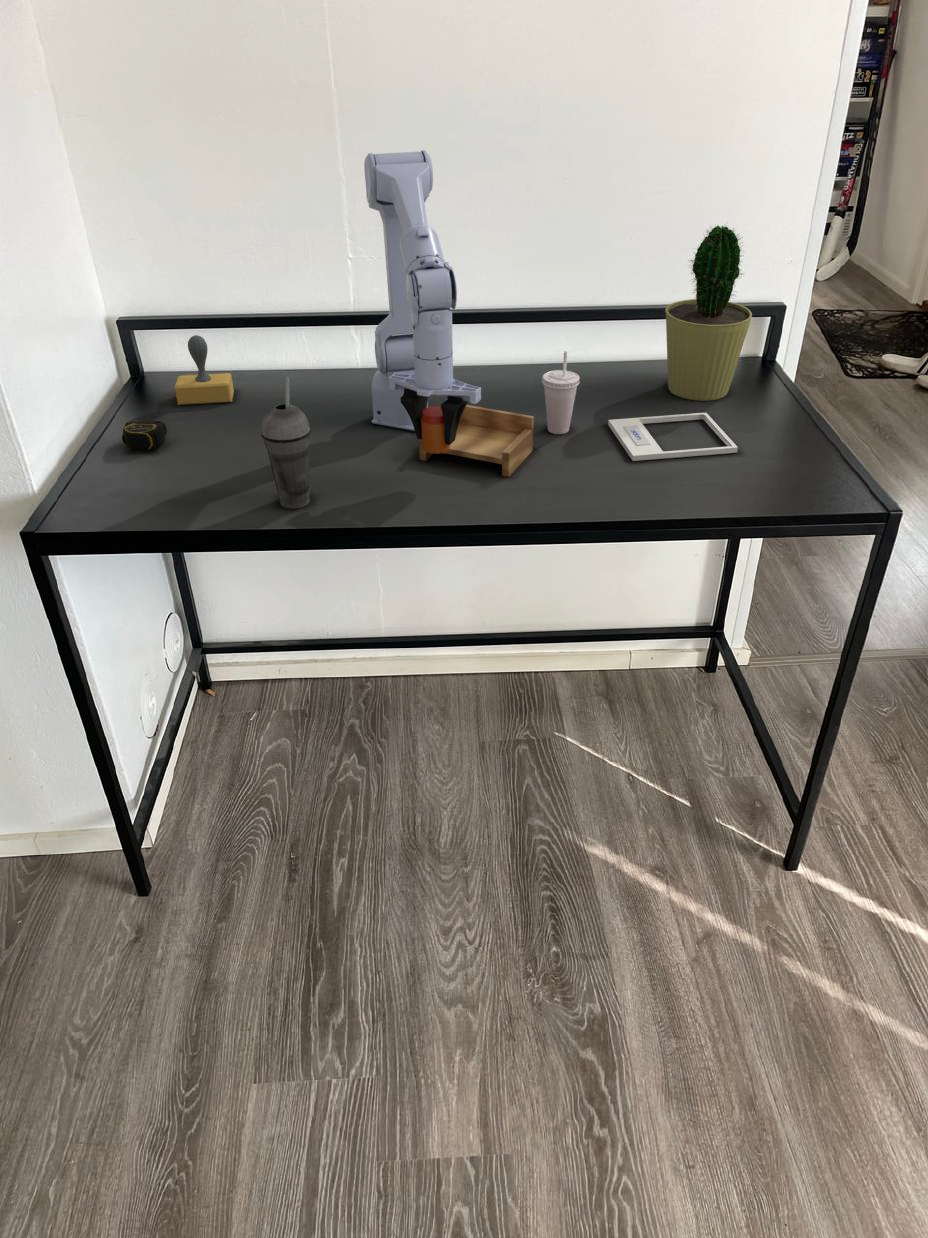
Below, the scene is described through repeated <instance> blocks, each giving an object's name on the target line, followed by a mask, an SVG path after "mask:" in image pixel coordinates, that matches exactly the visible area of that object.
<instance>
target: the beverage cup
mask: <svg viewBox="0 0 928 1238" xmlns="http://www.w3.org/2000/svg"><path fill="white" fill-rule="evenodd" d="M311 433H312V430H311V427H310V423H309V420H308V417H307V416H306V415H305V413H304V412H303V411H302V410H301V409H300V408H299V407H297V406H295V405H293V404H290V375H285V403H279V404H277V405H274V406H272V407H271V408H269V410H267V412H266V413H265V415H264V417H263V418H262V422H261V431H260V436H261V438H262V440H263V443H264V447H265V449H266V450H267V451H266V452H267V455H268V458H269V463H270V468H271V472H272V476H273V480H274V484H275V489H276V494H277V496H278V500H279V504H280V505H281V507H283V508H285V509H290V510H291V509H292V510H294V509H301V508H304V507H305V506H307V505H308V504H310V501H311V500H310V498H311V497H310V495H311V494H310V492H311V478H310V477H311V474H310V473H311V472H310V470H311V469H310V443H311Z"/></svg>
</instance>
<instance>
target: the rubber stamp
mask: <svg viewBox="0 0 928 1238" xmlns="http://www.w3.org/2000/svg"><path fill="white" fill-rule="evenodd" d="M208 348H209V347H208V343H207V342H206V340H205V339H204V337H203V336H201V335H198V334H195V335H192V336H190V338H189V339H188V341H187V349H188V352H189V354H190V356H191V359H192V360H193V362H194V363H195V365H196V367H197V371H198V373H197V374H187V375H179V376H177V379H176V382H175V385H174V392H175V397H176V402H177V406H187V405H188V406H189V405H203V404H207V405H208V404H222V403H232V402H233V398H234V392H235V390H234V382H233V377H232V373H229V372H223V373H222V372H221V373H207V372H206V362H207V357H208V350H209V349H208Z"/></svg>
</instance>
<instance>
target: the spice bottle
mask: <svg viewBox="0 0 928 1238" xmlns="http://www.w3.org/2000/svg"><path fill="white" fill-rule="evenodd" d="M421 430H422V449H423V450H424V451H425V452H427V453H432V454H433V455H434V454H435V455H438V454H445V453H444V452H447V451H448V450H449V449H450V445H447V444H446V443H445V424H444V418H443V413H442V410H441V406H437V405H435V406H428V408H425V409H424V410H423V411H422V418H421Z"/></svg>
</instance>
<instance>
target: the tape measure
mask: <svg viewBox="0 0 928 1238" xmlns="http://www.w3.org/2000/svg"><path fill="white" fill-rule="evenodd" d="M167 433H168V429H167V425H166V423H165V422H163V421H159V420H142V421H141V420H140V421H128V422H125V424H124V427H123V429H122V434H121V441H122V443H123V444H124V445H126V447H127V448H128V449H130V450H134V451H152V450H153V449H156V448H158V447H161V446H163V444H164V443H165V442H166V435H167Z"/></svg>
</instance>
